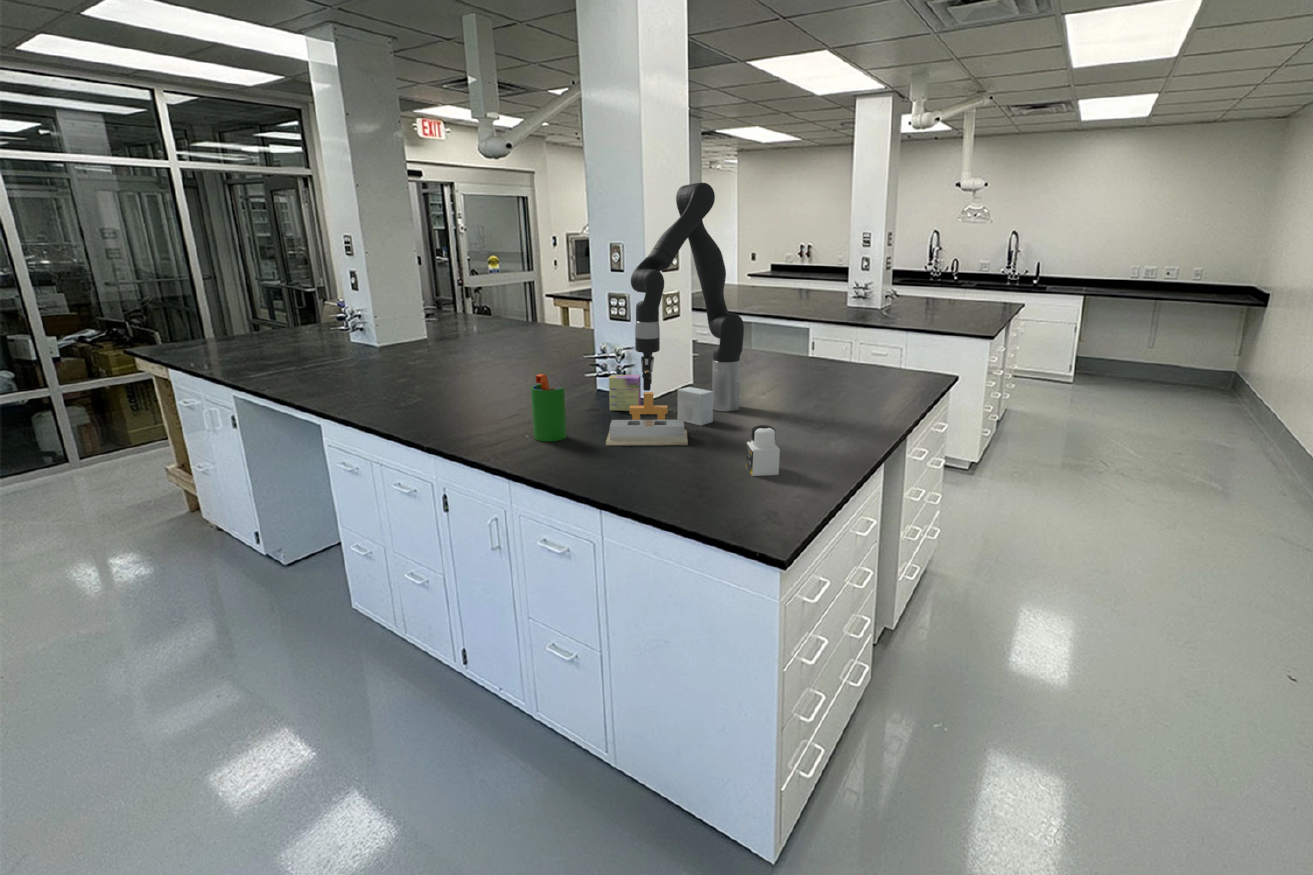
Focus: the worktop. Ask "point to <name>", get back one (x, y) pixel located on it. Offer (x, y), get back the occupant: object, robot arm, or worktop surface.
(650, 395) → the clip
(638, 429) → the slotted grey base block
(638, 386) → the box
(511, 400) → the worktop surface
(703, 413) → the skincare box
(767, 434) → the medicine bottle
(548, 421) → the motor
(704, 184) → the robot arm
